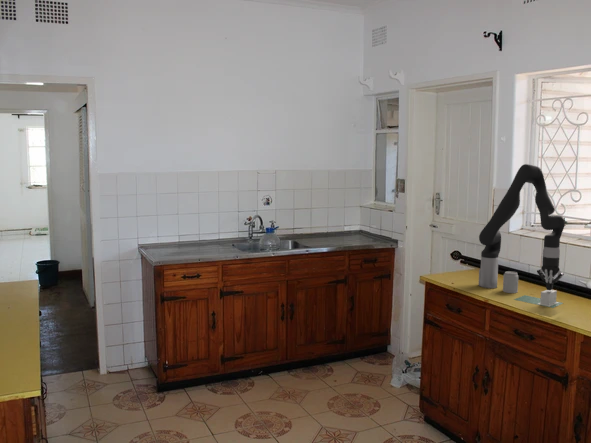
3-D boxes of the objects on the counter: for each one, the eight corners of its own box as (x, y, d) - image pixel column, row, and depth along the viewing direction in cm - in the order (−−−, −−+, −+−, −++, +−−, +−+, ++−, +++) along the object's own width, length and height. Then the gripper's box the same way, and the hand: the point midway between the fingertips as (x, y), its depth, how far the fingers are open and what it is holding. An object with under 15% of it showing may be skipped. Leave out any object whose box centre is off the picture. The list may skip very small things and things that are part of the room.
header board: (513, 302, 284) (513, 293, 283) (524, 297, 292) (524, 289, 291) (552, 310, 269) (553, 301, 268) (563, 305, 277) (564, 297, 276)
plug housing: (547, 300, 281) (548, 289, 280) (556, 302, 277) (556, 290, 277) (540, 303, 275) (540, 292, 274) (548, 305, 272) (549, 293, 271)
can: (510, 296, 294) (511, 274, 293) (499, 293, 301) (500, 271, 299) (520, 294, 298) (521, 272, 296) (509, 291, 304) (510, 270, 303)
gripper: (568, 256, 271) (566, 291, 273) (541, 252, 280) (539, 286, 283) (561, 258, 266) (559, 294, 268) (534, 255, 275) (532, 289, 278)
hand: (549, 290), depth 275 cm, fingers closed
